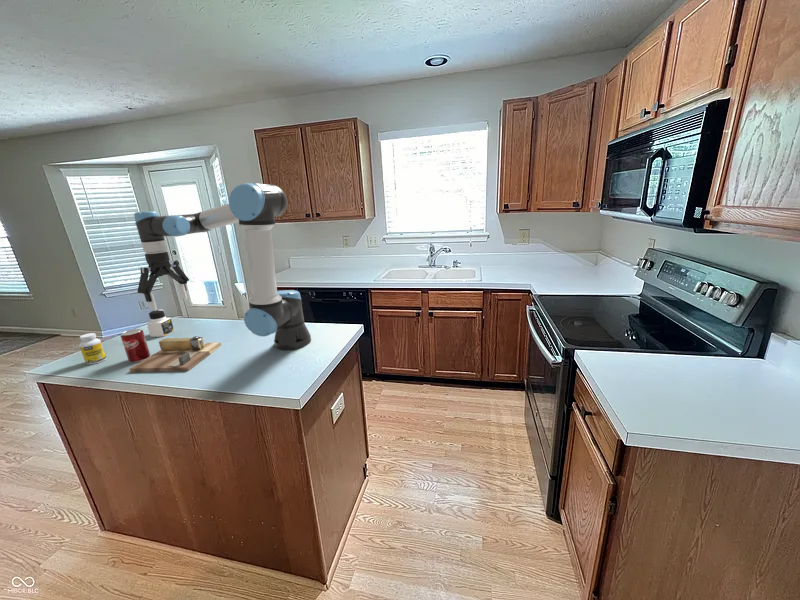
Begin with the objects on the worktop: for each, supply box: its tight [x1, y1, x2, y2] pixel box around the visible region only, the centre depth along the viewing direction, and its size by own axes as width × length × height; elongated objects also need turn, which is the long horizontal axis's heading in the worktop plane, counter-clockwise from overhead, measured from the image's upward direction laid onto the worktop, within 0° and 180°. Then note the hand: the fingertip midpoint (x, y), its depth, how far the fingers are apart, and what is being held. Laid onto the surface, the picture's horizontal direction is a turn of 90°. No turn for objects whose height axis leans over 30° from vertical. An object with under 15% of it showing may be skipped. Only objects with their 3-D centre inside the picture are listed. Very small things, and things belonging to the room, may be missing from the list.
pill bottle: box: [79, 332, 107, 365], centre depth 135 cm, size 6×6×12 cm
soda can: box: [120, 328, 151, 364], centre depth 135 cm, size 7×7×12 cm
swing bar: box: [158, 336, 205, 350], centre depth 139 cm, size 17×4×5 cm, turn 87°
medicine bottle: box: [146, 309, 175, 338], centre depth 161 cm, size 7×7×12 cm
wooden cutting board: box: [129, 342, 223, 373], centre depth 135 cm, size 23×22×4 cm
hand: (169, 303), depth 136 cm, fingers open, 13 cm apart
